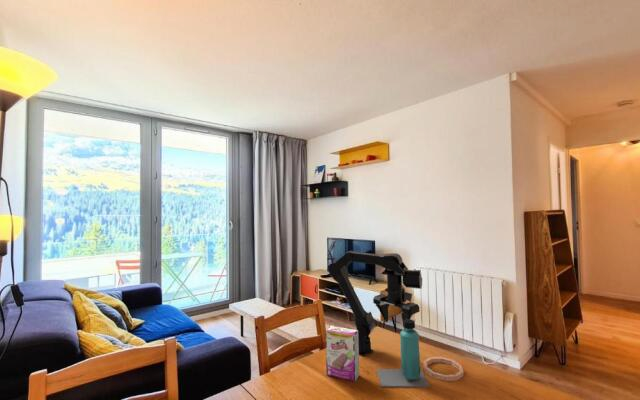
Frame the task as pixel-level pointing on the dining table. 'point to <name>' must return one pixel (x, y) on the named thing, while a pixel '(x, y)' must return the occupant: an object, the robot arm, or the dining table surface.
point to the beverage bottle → (410, 350)
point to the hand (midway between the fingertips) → (395, 325)
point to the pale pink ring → (441, 376)
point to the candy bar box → (342, 353)
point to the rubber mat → (399, 379)
